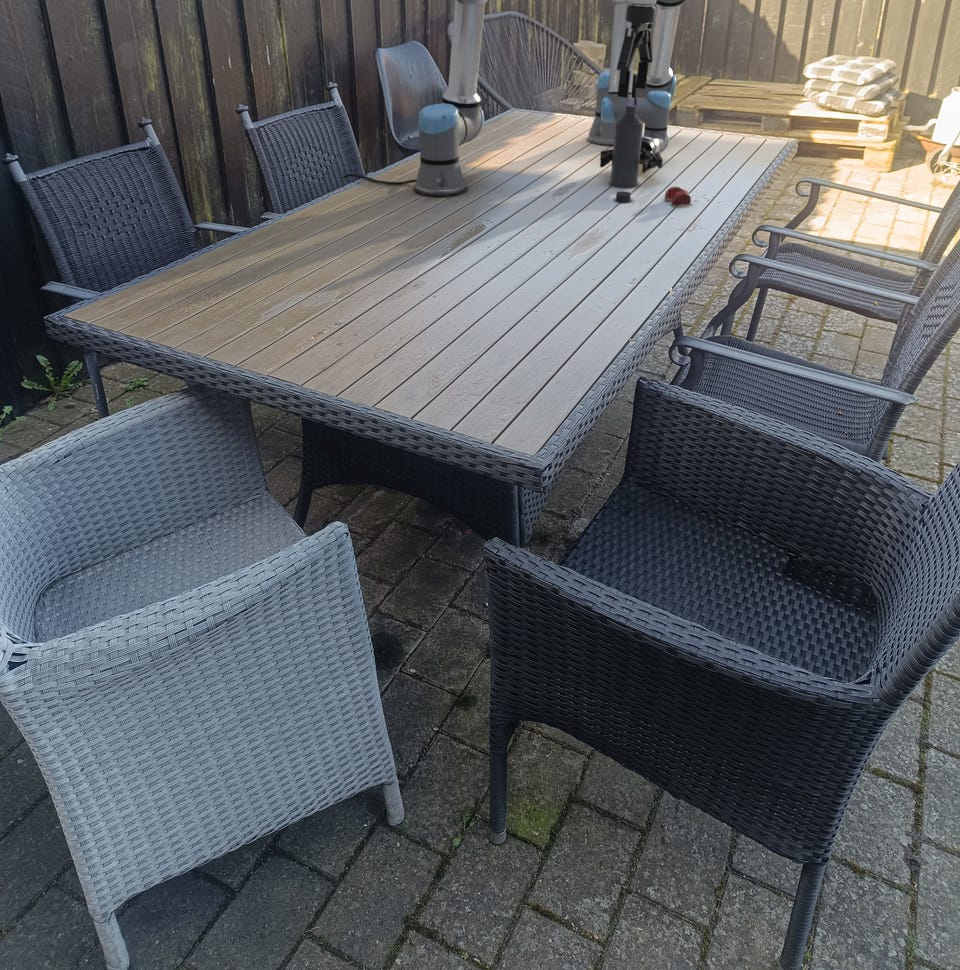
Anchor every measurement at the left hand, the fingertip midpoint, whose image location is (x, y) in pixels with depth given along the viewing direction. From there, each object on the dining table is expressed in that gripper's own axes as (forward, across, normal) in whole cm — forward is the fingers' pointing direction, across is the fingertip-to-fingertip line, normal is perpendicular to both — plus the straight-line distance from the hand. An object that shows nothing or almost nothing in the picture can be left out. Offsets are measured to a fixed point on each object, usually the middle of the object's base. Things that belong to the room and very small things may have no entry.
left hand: (632, 92), depth 233 cm
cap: (+28, 0, -1) cm, 28 cm away
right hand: (+23, +13, +5) cm, 27 cm away
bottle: (+30, +16, +5) cm, 34 cm away
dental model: (+29, +6, -16) cm, 34 cm away
